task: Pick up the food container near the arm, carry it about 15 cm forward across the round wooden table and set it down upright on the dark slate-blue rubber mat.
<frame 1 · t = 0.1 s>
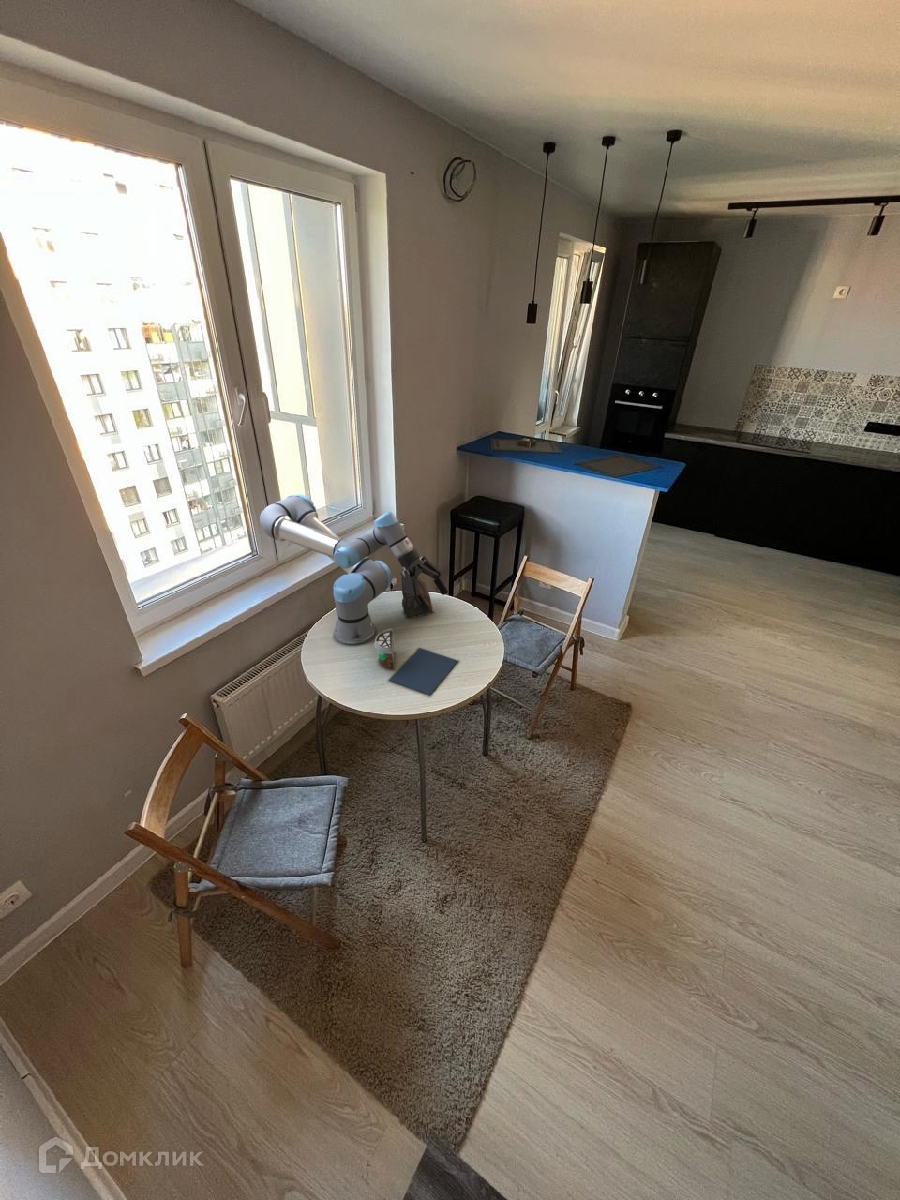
hand: (436, 602, 180), 15 cm above the table, tool tilted 35°, fingers open, 13 cm apart
mat: (424, 670, 171), on the table
owl: (417, 611, 203), on the table
food container: (385, 661, 175), on the table
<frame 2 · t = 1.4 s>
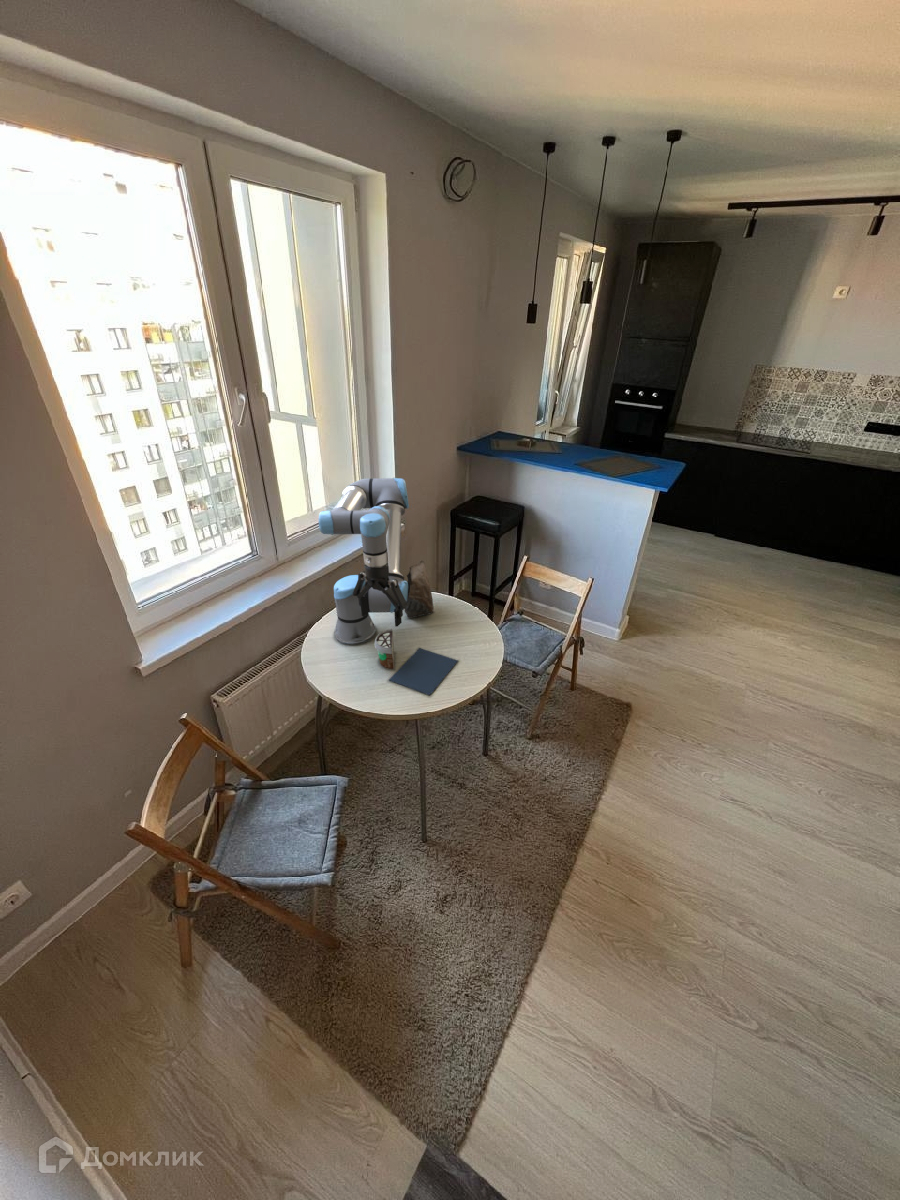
hand: (381, 619, 166), 18 cm above the table, tool pointing down, fingers open, 13 cm apart
owl: (417, 608, 202), point 1 cm above the table, touching arm
everything else where it was.
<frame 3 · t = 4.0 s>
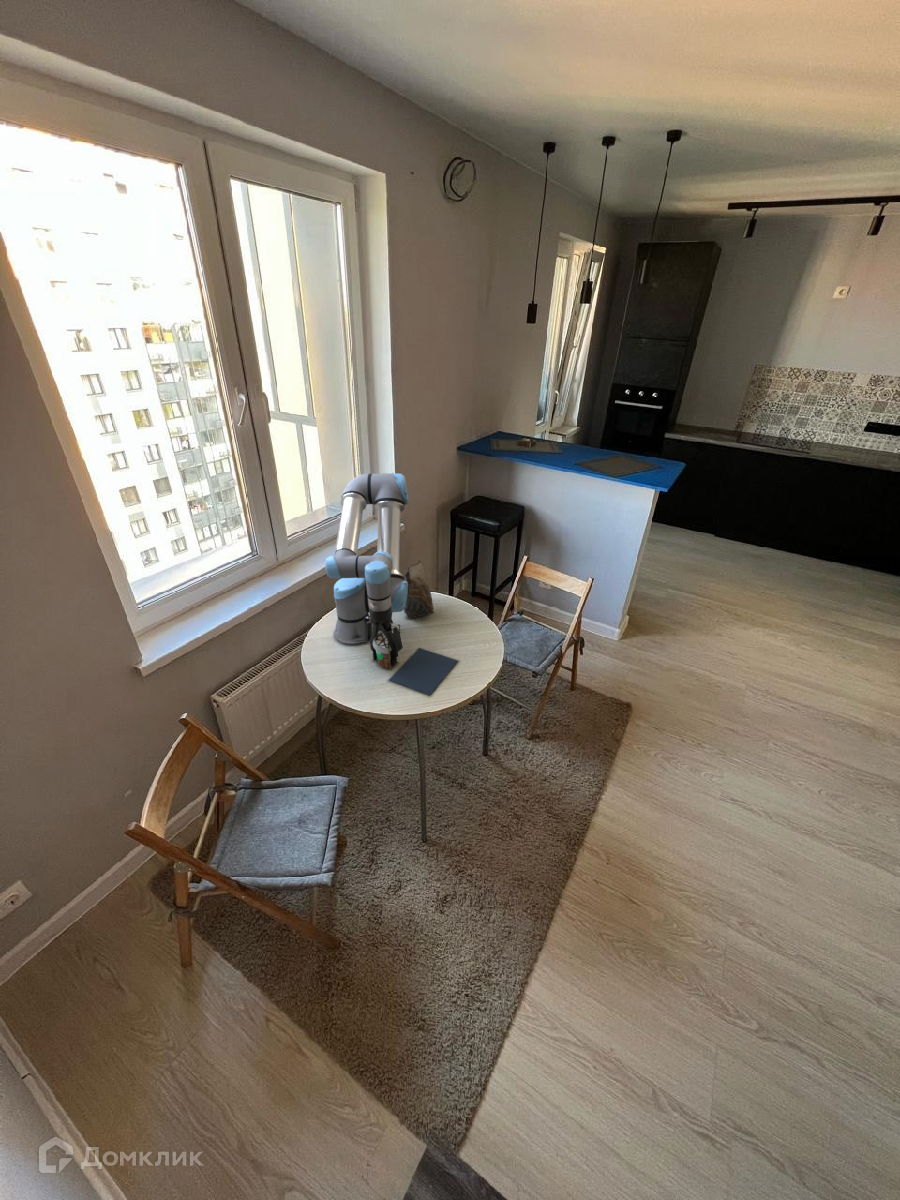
hand: (385, 661, 175), 0 cm above the table, tool pointing down, fingers closed on food container, 7 cm apart
food container: (383, 661, 175), on the table, touching gripper
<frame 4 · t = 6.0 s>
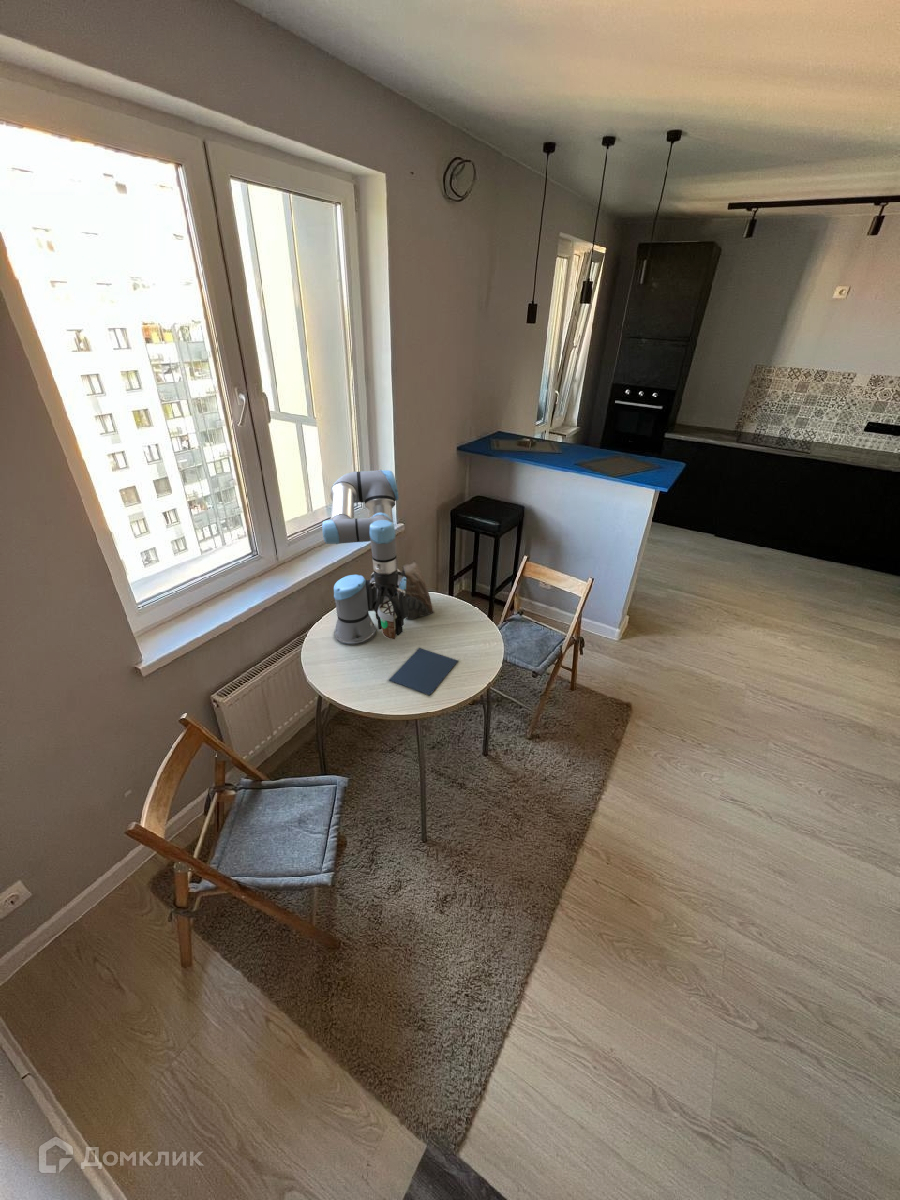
hand: (390, 630, 165), 15 cm above the table, tool pointing down, fingers closed on food container, 7 cm apart
owl: (417, 611, 203), on the table, touching arm
food container: (388, 631, 166), point 14 cm above the table, touching gripper
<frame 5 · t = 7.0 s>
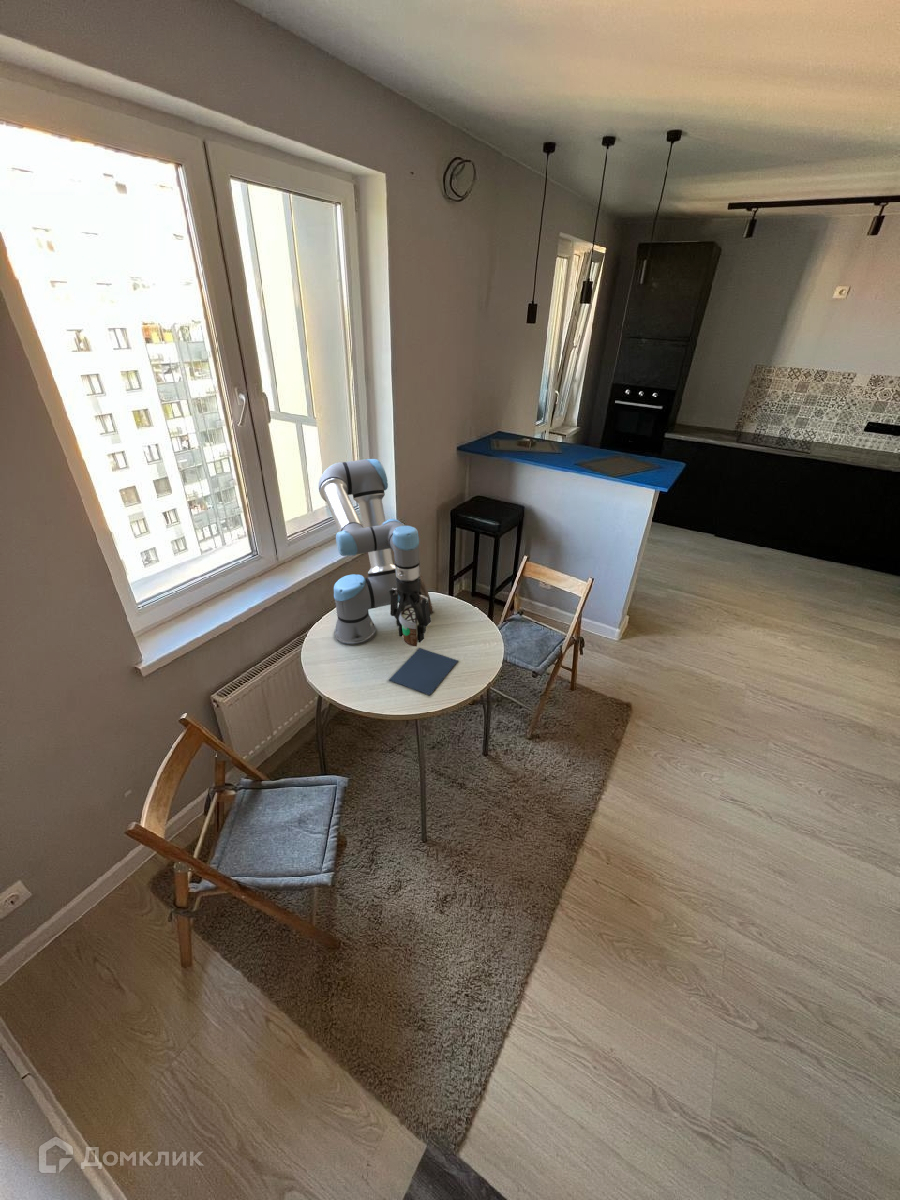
hand: (411, 637, 162), 15 cm above the table, tool pointing down, fingers closed on food container, 7 cm apart
owl: (417, 612, 203), on the table
food container: (409, 638, 163), point 14 cm above the table, touching gripper
when the fingers open (1 cm above the table, at t = 10.5 s): food container stays where it is, resting on mat.
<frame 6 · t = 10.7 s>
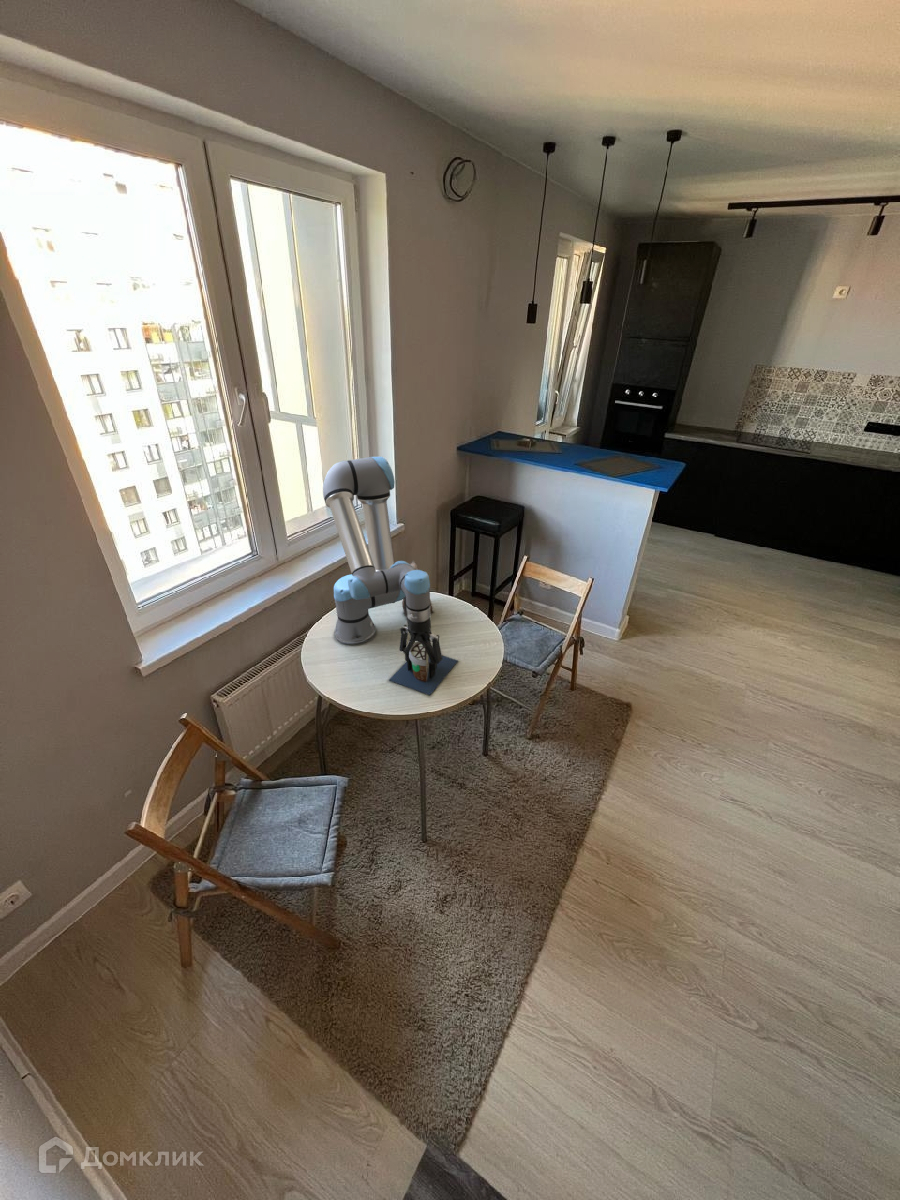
hand: (421, 672, 169), 1 cm above the table, tool pointing down, fingers open, 8 cm apart
food container: (418, 673, 169), resting on mat
everything else where it was.
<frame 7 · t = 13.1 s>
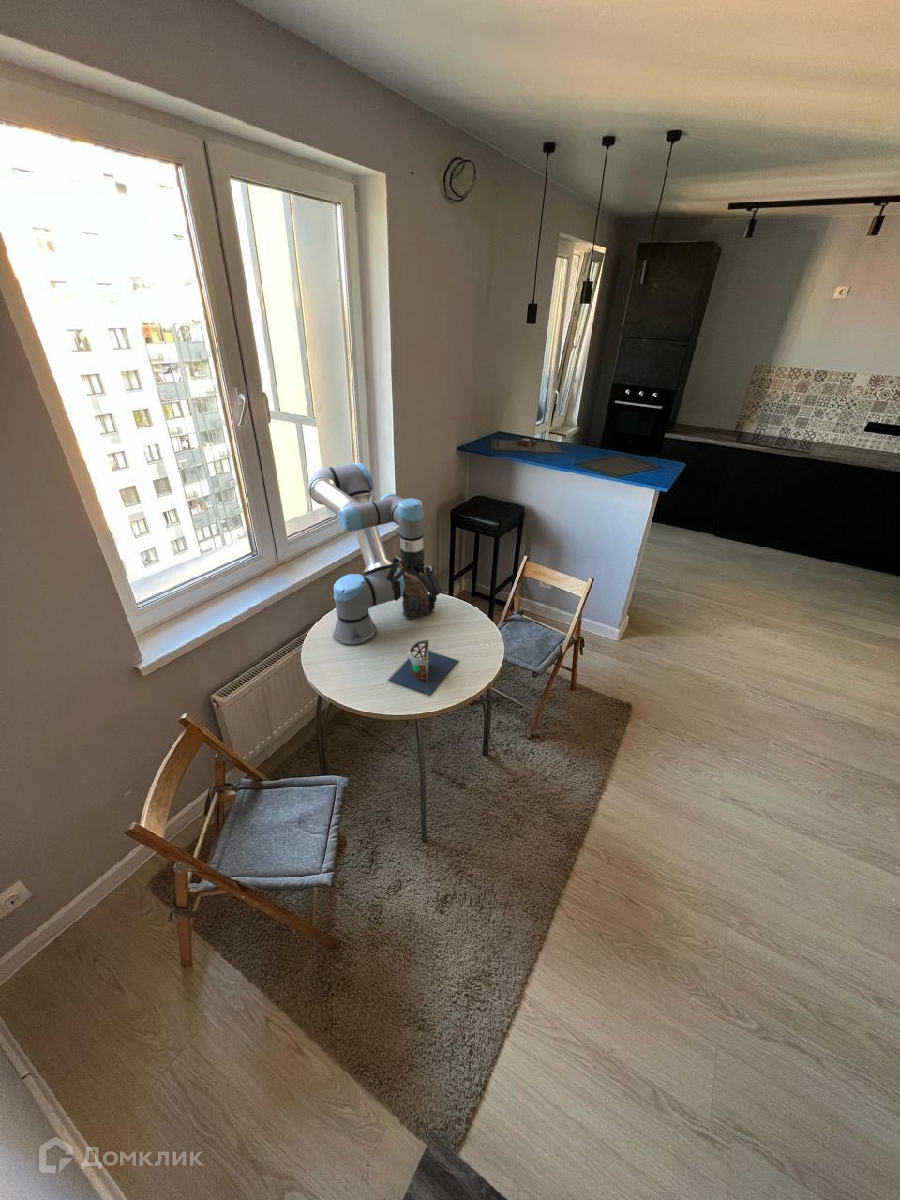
hand: (414, 604, 167), 22 cm above the table, tool pointing down, fingers open, 13 cm apart
nothing on the table moved.
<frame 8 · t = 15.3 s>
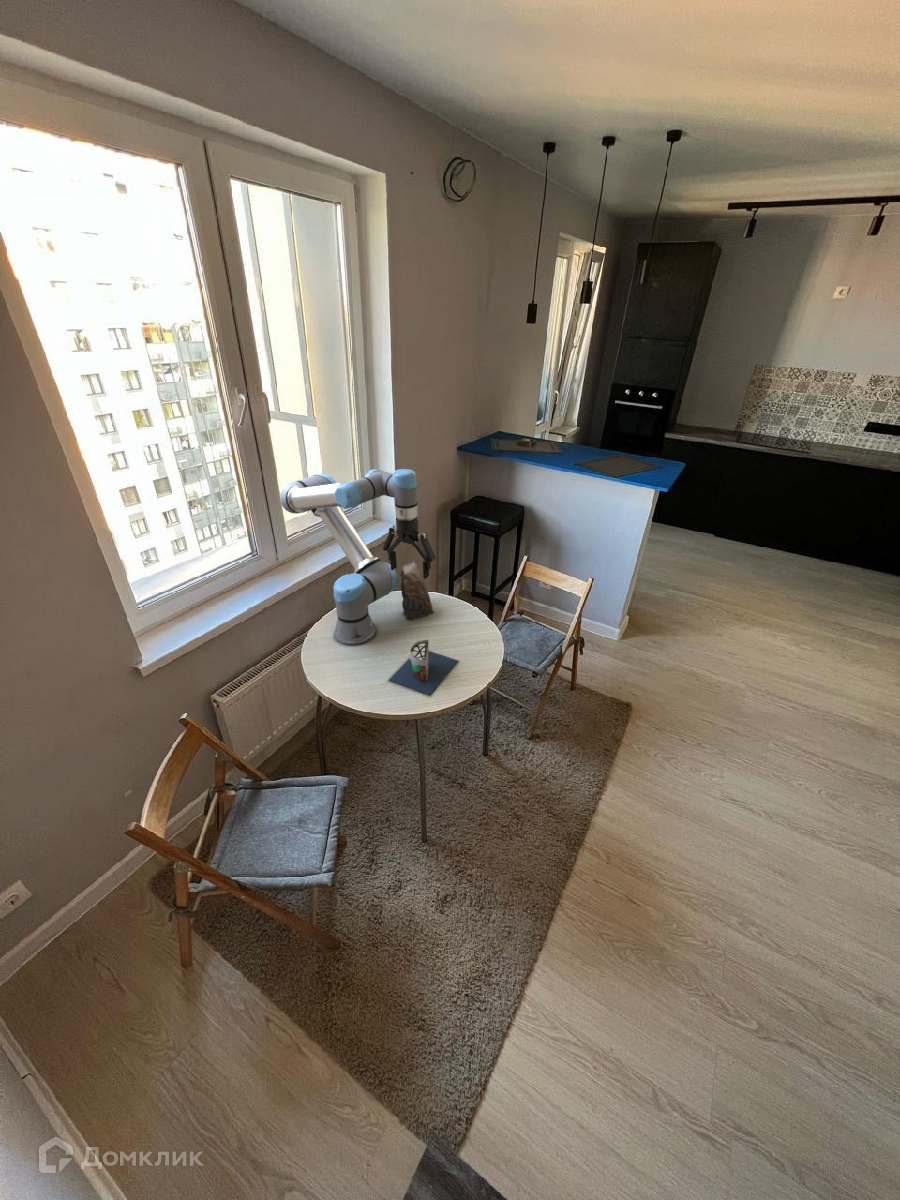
hand: (409, 572, 175), 27 cm above the table, tool pointing down, fingers open, 13 cm apart
nothing on the table moved.
at the end: food container inside the target area on the mat (2.4 cm from its centre), point 0.2 cm above the mat's base; food container moved 14.1 cm from its start; food container tilted 0° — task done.
